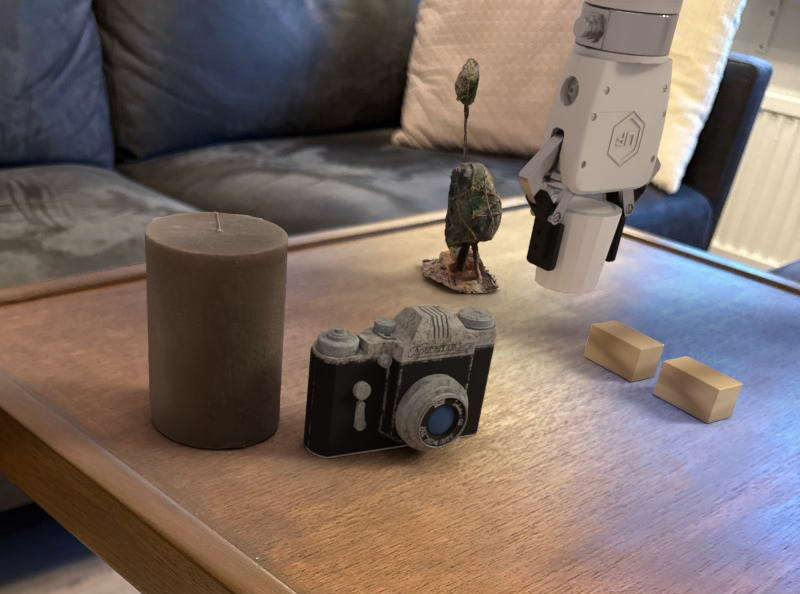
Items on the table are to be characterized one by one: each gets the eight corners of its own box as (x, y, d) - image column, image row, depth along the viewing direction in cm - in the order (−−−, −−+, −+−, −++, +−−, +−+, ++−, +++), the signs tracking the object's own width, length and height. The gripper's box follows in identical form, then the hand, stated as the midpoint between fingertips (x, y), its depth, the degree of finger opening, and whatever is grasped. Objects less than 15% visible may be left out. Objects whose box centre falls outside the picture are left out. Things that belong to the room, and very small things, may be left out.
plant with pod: (421, 298, 98) (454, 70, 85) (419, 261, 106) (449, 49, 94) (502, 307, 98) (547, 79, 85) (493, 269, 106) (533, 58, 94)
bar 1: (654, 376, 87) (664, 344, 85) (631, 382, 86) (640, 349, 84) (606, 351, 91) (614, 319, 89) (582, 356, 89) (591, 324, 88)
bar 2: (730, 417, 82) (743, 383, 80) (707, 423, 80) (719, 389, 78) (676, 388, 85) (686, 355, 84) (652, 394, 84) (662, 360, 82)
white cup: (571, 302, 87) (592, 219, 83) (512, 277, 91) (528, 198, 86) (617, 288, 91) (638, 209, 86) (558, 266, 95) (576, 189, 90)
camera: (334, 482, 68) (348, 343, 62) (294, 437, 73) (304, 304, 66) (510, 452, 74) (540, 322, 67) (463, 412, 78) (487, 287, 72)
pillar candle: (253, 461, 69) (262, 243, 60) (127, 433, 71) (116, 217, 62) (296, 406, 77) (310, 204, 67) (180, 381, 78) (178, 181, 69)
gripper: (578, 43, 72) (526, 286, 83) (732, 43, 80) (666, 265, 91) (511, 26, 77) (471, 258, 88) (663, 27, 85) (608, 240, 96)
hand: (570, 260), depth 89 cm, fingers closed on white cup, 6 cm apart
